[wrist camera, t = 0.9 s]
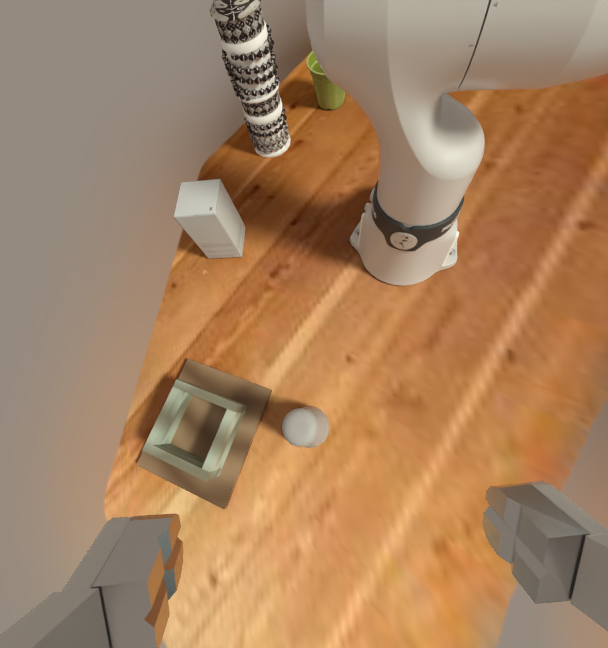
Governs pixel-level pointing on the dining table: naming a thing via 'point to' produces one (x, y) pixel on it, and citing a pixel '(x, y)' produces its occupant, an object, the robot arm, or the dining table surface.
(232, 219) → the supplement box
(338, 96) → the plant pot
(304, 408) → the salt shaker
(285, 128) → the decorative candle
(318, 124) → the dining table surface
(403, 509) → the dining table surface
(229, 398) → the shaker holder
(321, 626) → the dining table surface
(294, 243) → the dining table surface
